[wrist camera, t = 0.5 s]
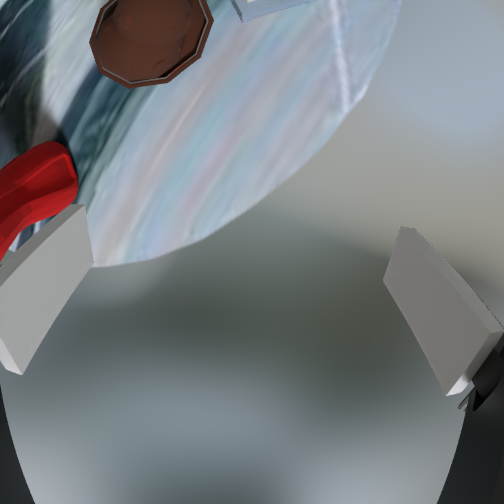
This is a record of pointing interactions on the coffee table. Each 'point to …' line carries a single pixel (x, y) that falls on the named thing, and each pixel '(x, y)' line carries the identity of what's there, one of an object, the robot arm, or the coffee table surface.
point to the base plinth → (262, 7)
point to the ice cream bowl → (149, 39)
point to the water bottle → (34, 189)
